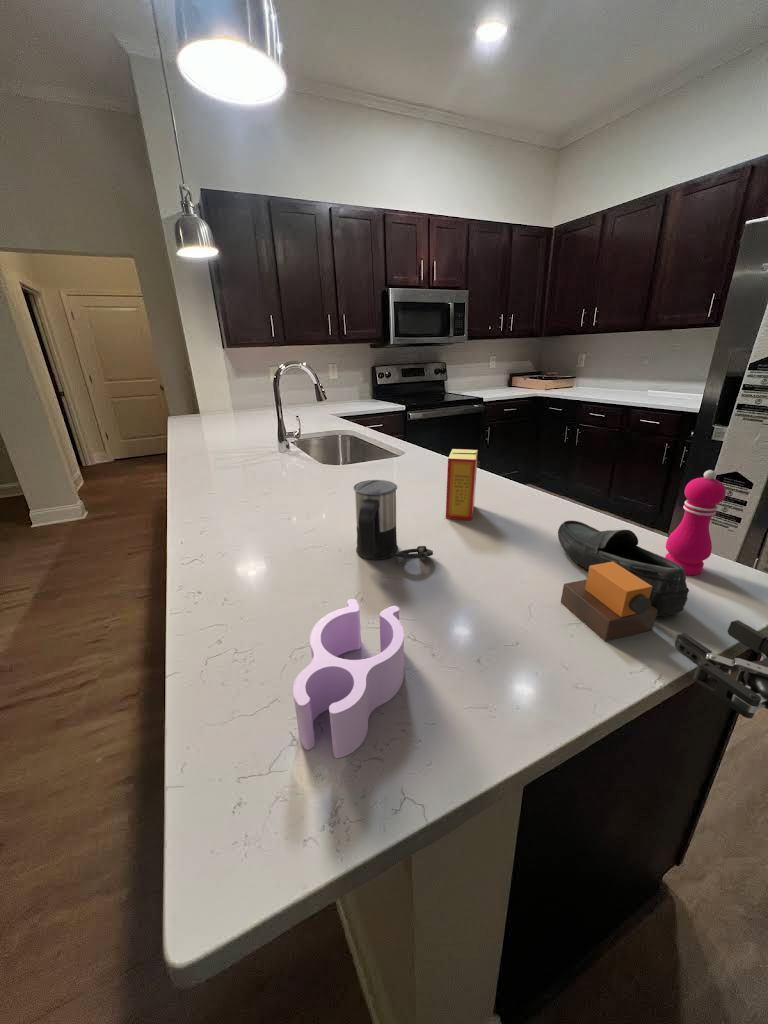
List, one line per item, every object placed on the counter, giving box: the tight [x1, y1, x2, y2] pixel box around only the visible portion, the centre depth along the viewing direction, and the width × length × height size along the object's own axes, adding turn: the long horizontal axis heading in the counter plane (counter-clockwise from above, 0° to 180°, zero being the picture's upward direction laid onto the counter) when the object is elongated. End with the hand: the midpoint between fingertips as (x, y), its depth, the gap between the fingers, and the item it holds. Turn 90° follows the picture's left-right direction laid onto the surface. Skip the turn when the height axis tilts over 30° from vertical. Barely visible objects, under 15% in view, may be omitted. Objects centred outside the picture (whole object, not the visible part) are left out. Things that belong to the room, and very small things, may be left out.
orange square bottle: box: [585, 562, 652, 617], centre depth 65 cm, size 9×5×5 cm, turn 16°
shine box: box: [560, 579, 658, 642], centre depth 68 cm, size 10×9×4 cm
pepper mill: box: [664, 469, 727, 576], centre depth 79 cm, size 7×7×20 cm
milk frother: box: [353, 479, 434, 560], centre depth 87 cm, size 14×16×15 cm
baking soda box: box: [445, 448, 479, 521], centre depth 107 cm, size 10×6×16 cm
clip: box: [292, 598, 405, 759], centre depth 55 cm, size 20×12×7 cm, turn 163°
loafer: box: [557, 520, 690, 617], centre depth 78 cm, size 10×29×10 cm, turn 18°
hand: (705, 632), depth 52 cm, fingers open, 8 cm apart
